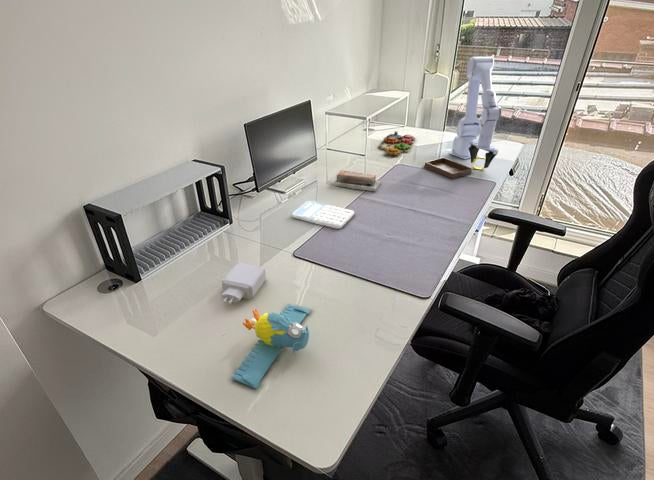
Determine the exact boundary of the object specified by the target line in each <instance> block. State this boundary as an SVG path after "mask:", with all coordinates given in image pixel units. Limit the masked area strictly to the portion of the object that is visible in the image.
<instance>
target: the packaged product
mask: <svg viewBox="0 0 654 480" xmlns="http://www.w3.org/2000/svg"><path fill="white" fill-rule="evenodd" d="M335 178H336V179H335V181H334V186H335V187H341V188H348V189H353V190H363V191H367V192H369V191H370V192H373V193H375V192H376V191H377V189H378V187H380V186H379V185H380V184H381V180H378V179H376V178H377V175H375V174H371V173H370V174H369V173H364V172H363V173H362V172H358V171H357V172H356V171H350V170H340V171H339V172H338V173H337V174H336V177H335Z"/></svg>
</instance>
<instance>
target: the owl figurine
mask: <svg viewBox="0 0 654 480" xmlns="http://www.w3.org/2000/svg"><path fill="white" fill-rule="evenodd" d="M310 313H311V311H310V310H309V309H307V308H305V307H303V306H298V305H295V304H291V303H290V304H287V306H285V307H284V309H282V311H281V312H279V313H278V312H273V311H271V312H265V313H263V314H262V315H261V316H260V314H259V311H258V309H257V308H254V309H252V314H253V318H250V319H248V318H244V321H245V322H242V325H243V326H244V327H245V328H246V329H248V331H250V330H252V329H253V330H254V331H255V334H256V337H257V338H258V340H257V341H256V342H257V343H255V344H254V345H253V346H254V347H252V348H251V351H249V352H248V355H246V356H245V357H244V359H243V360H242V361H241V364H239V365H238V369H236V370H235V371H234V373H235V374H232V376H231V378H232V379H233V380H234V381H237V382H239V383H241V384H244V385H247V386H248V387H250V388H253V389H255V390H257V389H258V388H259V386H260V385H261V383H260V382H261V381H262V379H263V377H264V376H265V374H266V373H267V371H268V370H269V369H270V367H271V366H272V365H273V362H274V361H275V360H276V358H277V357H278V356H279V354H280V352H282V349H283V348H290V349H291V348H292V349H291V350H292V353H295V352H296V353H297V352H298V351H300V350H302V349H305V348H306V347H307V345H308V343H309V338H310V330H309V325H308V324H306V326H305V327H304V326H303V325H301V324H302V322H303V320H304V319H305V318H306V317H307V315H310Z"/></svg>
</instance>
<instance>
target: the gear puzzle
mask: <svg viewBox="0 0 654 480" xmlns="http://www.w3.org/2000/svg"><path fill="white" fill-rule="evenodd" d="M415 141H416V137H415V136H413V135H412V134H404V135H401V134H399V132H398V131H397V130H395V131H394V132H393V133H389V134H387V135H386V136H385V137H384V139H383V140H382V141H381V144H379V145H378V148H380V150H384V153H385V154H386V155H390V156H392V155H393V156H397V155H399V156H400V155H401V154H402V153H409V151H410V149H411V148H412V146H413V144H414V142H415Z"/></svg>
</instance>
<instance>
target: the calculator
mask: <svg viewBox="0 0 654 480" xmlns="http://www.w3.org/2000/svg"><path fill="white" fill-rule="evenodd" d="M291 216H292V218H294V219H297V220H300V221H304V222H308V223H312V224H317V225H320V226H324V227H327V228H330V229H331V228H332V229H337V230H339V229H342V228H343V227H344V226H345V225H346V224H347V223H348V222H349V221H350V220H351V219H352V218H353V217H354V216H355V211H354V210H352V209H348V208H344V207H339V206H335V205H331V204H327V203H323V202H318V201H314V200H307V201H305V203H303V204H302V205H301V206H299V207H298V208H297V209H296V210H294V211H293V212H292V215H291Z"/></svg>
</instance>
